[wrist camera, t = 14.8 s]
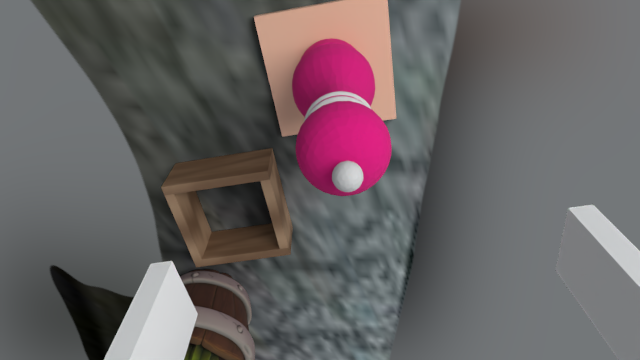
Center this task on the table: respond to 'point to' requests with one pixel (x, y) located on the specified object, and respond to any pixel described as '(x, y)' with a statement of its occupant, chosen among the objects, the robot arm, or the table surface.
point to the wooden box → (233, 241)
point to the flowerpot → (218, 317)
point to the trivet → (318, 24)
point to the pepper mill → (339, 120)
